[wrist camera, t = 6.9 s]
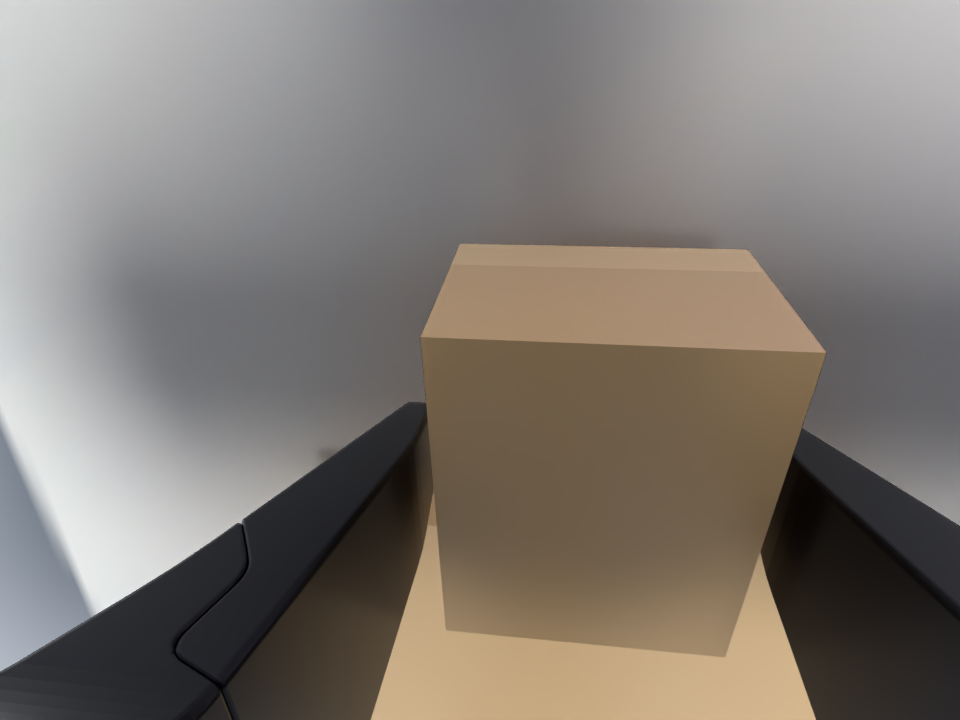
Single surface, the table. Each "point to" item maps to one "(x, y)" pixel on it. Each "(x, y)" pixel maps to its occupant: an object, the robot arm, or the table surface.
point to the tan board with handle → (603, 489)
